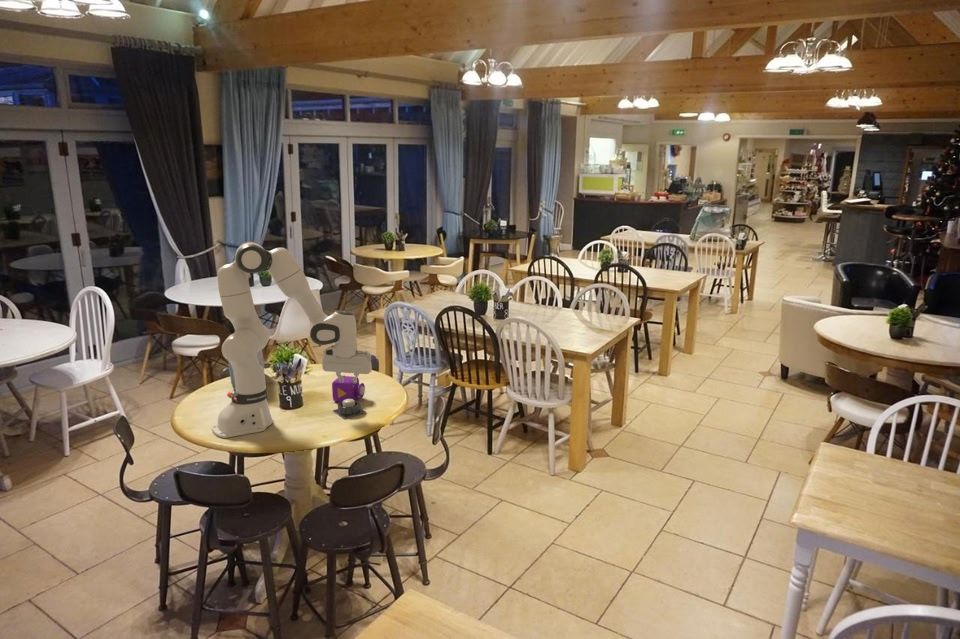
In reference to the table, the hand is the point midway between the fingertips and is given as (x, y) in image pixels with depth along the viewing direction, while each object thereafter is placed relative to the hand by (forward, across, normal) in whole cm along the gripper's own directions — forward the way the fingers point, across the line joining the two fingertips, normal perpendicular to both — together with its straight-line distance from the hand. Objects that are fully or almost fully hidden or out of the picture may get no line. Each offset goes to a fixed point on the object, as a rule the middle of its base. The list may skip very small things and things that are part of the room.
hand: (348, 382), depth 267 cm
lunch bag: (+13, +62, -26) cm, 68 cm away
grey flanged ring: (+13, 0, 0) cm, 13 cm away
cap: (+12, 0, 0) cm, 13 cm away
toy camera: (+13, +6, -14) cm, 20 cm away
